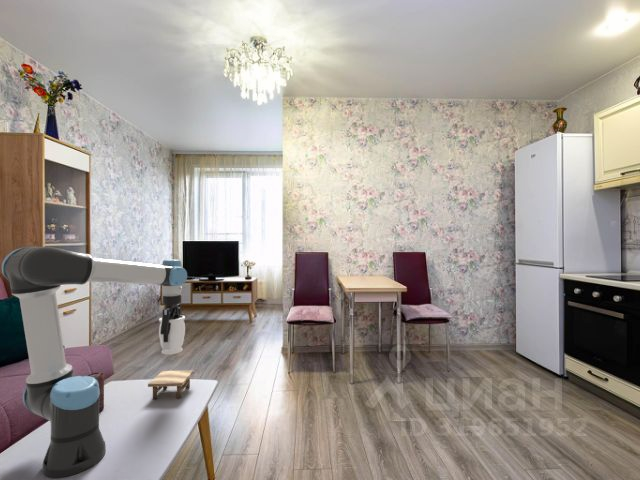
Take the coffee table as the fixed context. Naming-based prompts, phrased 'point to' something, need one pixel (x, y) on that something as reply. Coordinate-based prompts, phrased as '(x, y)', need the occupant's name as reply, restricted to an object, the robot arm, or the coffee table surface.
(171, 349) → the jar
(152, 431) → the coffee table surface
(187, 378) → the stool
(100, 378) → the can
